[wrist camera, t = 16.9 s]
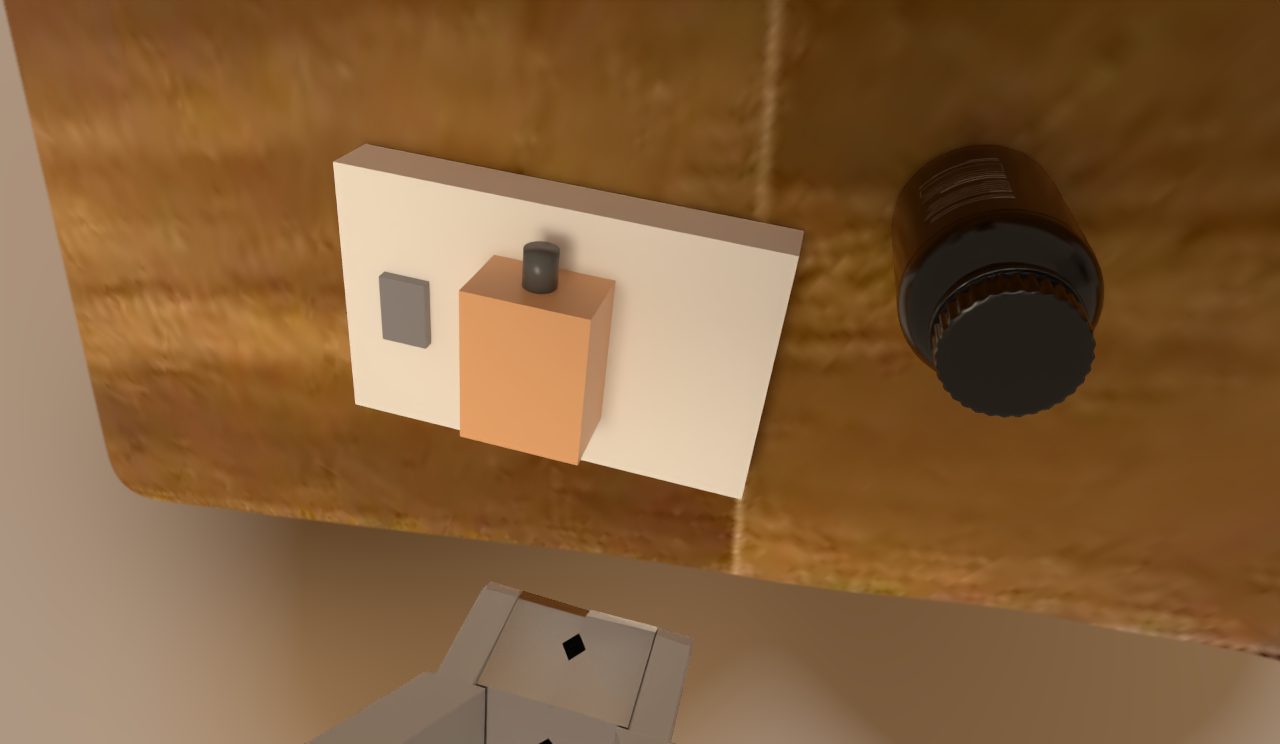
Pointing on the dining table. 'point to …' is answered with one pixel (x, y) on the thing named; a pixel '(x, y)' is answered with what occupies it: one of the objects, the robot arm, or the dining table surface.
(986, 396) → the supplement bottle
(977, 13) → the dining table surface
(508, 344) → the plug
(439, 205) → the socket plate
